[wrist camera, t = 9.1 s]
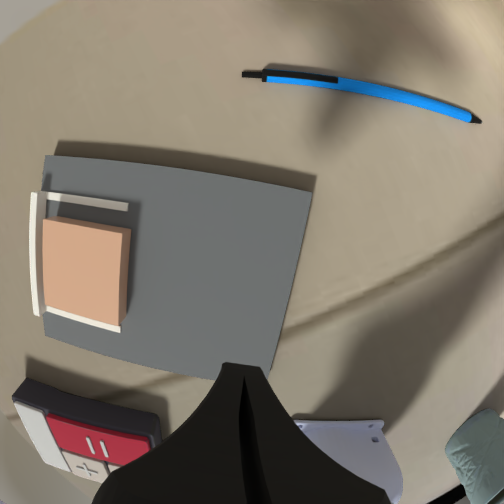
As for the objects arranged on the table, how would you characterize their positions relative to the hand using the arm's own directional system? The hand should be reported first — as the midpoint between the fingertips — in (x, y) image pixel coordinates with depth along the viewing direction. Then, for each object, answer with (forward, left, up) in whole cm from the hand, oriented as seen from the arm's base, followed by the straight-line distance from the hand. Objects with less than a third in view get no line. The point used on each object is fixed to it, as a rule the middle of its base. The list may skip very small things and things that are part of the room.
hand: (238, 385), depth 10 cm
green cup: (-33, +16, -10) cm, 38 cm away
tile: (+7, 0, -8) cm, 11 cm away
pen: (-7, -15, -10) cm, 20 cm away
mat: (+6, 0, -10) cm, 12 cm away
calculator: (+12, +19, -11) cm, 25 cm away
